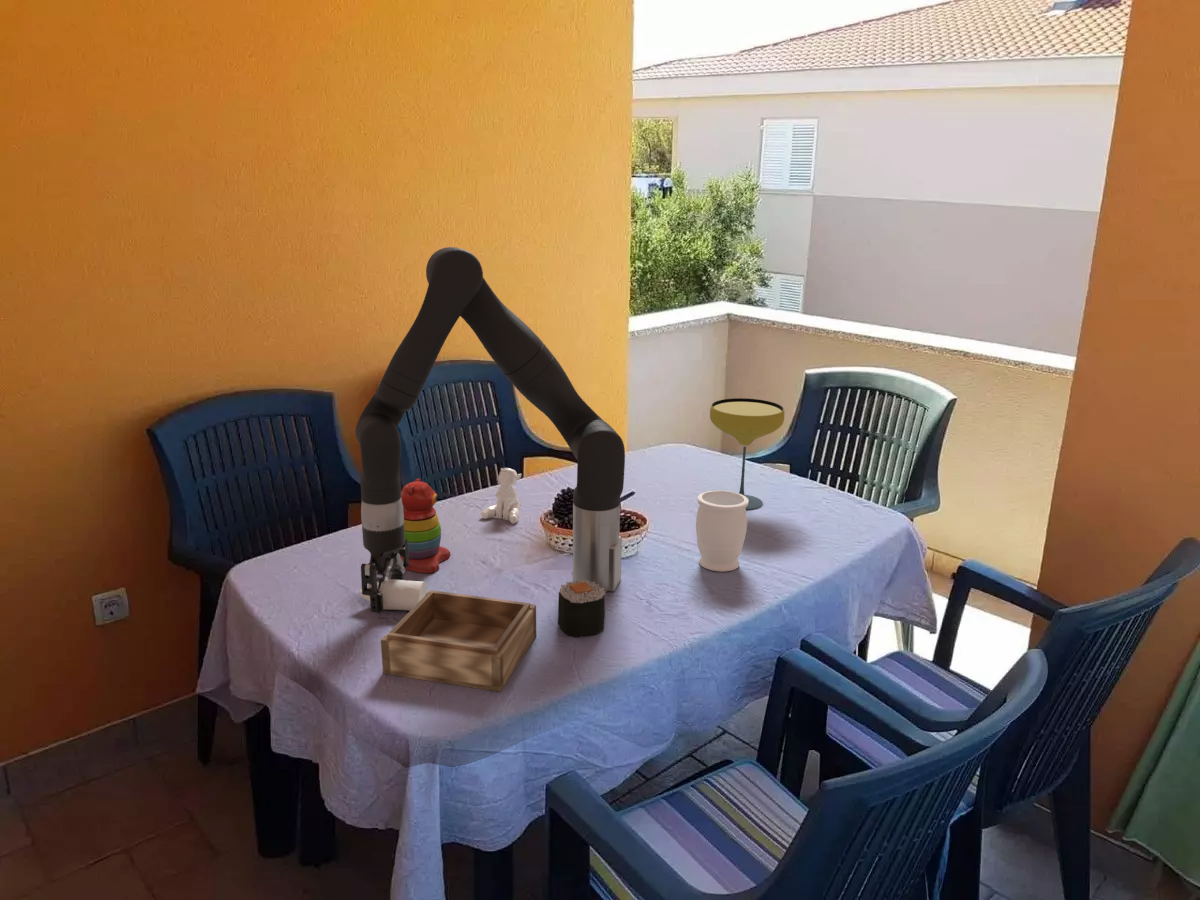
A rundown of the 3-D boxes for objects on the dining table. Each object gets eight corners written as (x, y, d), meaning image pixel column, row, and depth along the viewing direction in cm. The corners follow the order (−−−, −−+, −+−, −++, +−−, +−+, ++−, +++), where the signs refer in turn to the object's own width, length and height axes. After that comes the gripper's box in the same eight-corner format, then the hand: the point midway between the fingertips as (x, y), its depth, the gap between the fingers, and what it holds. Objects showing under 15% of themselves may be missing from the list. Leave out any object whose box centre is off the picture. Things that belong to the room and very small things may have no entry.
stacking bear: (434, 574, 181) (430, 493, 176) (388, 569, 183) (383, 488, 178) (453, 553, 191) (450, 475, 186) (409, 549, 193) (405, 472, 188)
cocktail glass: (726, 485, 236) (731, 394, 229) (789, 500, 226) (797, 405, 219) (692, 504, 222) (696, 408, 215) (757, 521, 212) (764, 420, 205)
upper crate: (530, 633, 157) (530, 603, 155) (497, 684, 141) (496, 650, 139) (432, 620, 161) (430, 590, 159) (389, 667, 146) (387, 634, 144)
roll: (366, 599, 171) (364, 572, 169) (427, 601, 170) (426, 575, 168) (356, 614, 165) (354, 586, 163) (419, 616, 164) (418, 589, 163)
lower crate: (536, 636, 158) (536, 604, 156) (500, 691, 141) (499, 657, 139) (430, 621, 162) (428, 590, 160) (382, 673, 145) (380, 639, 143)
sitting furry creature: (479, 518, 211) (478, 471, 207) (496, 507, 219) (495, 460, 215) (515, 524, 208) (514, 476, 204) (531, 512, 216) (530, 465, 212)
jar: (749, 559, 191) (754, 494, 186) (736, 578, 182) (740, 510, 177) (702, 550, 195) (706, 486, 190) (687, 568, 186) (690, 501, 181)
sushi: (569, 641, 156) (569, 600, 154) (552, 620, 164) (552, 580, 161) (611, 632, 159) (612, 592, 157) (593, 612, 167) (593, 573, 164)
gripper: (383, 538, 154) (388, 622, 159) (418, 510, 168) (422, 588, 172) (344, 533, 156) (350, 616, 161) (382, 506, 169) (387, 583, 174)
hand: (387, 601), depth 167 cm, fingers open, 8 cm apart
